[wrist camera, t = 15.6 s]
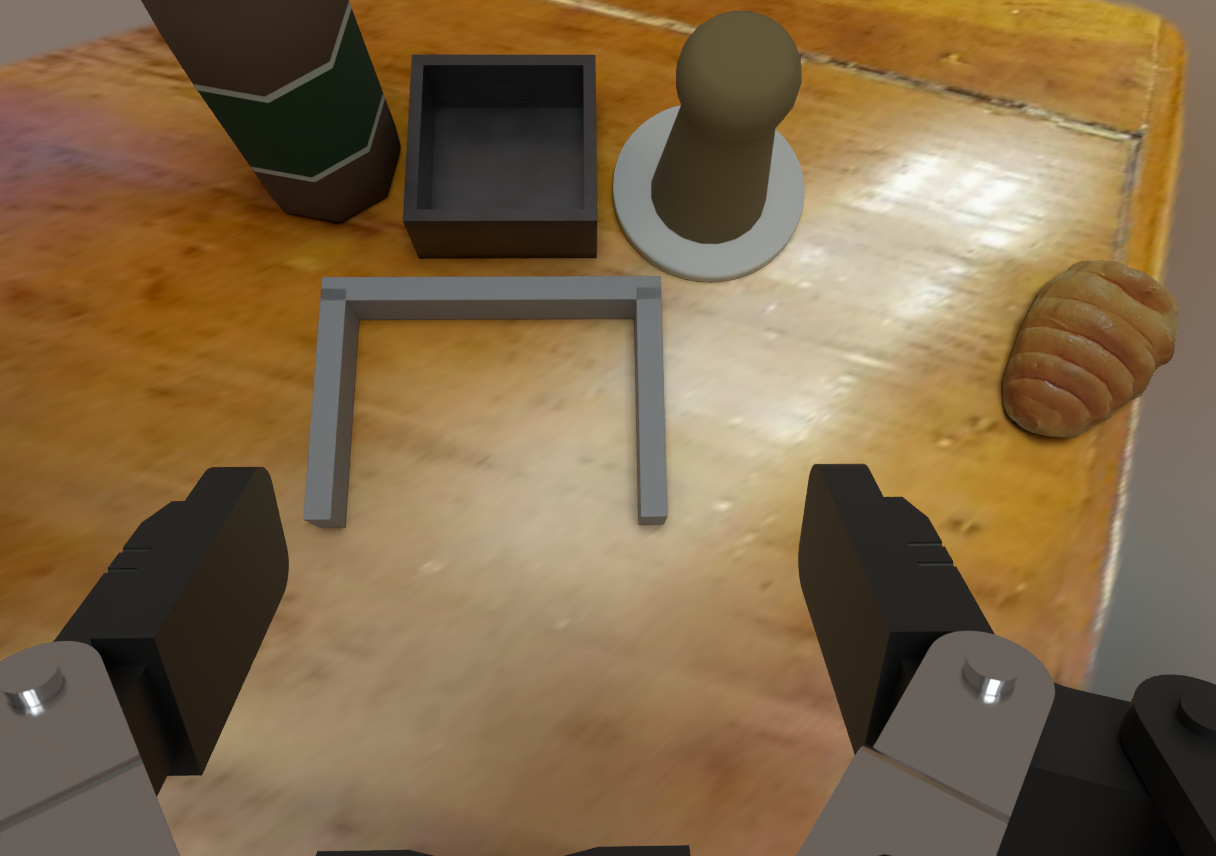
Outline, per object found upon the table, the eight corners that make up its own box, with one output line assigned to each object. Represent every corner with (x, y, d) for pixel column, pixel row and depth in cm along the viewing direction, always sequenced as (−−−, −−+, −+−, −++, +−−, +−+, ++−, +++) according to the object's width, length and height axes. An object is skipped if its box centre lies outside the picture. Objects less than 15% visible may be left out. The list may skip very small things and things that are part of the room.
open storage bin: (419, 258, 45) (403, 220, 41) (426, 103, 48) (412, 54, 44) (596, 257, 45) (596, 220, 42) (595, 103, 48) (595, 54, 44)
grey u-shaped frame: (320, 527, 42) (303, 519, 39) (336, 297, 45) (322, 277, 42) (663, 524, 42) (667, 516, 39) (656, 296, 45) (660, 276, 42)
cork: (682, 122, 46) (711, -38, 36) (785, 171, 46) (845, 23, 35) (630, 212, 45) (643, 74, 34) (735, 263, 44) (782, 139, 34)
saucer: (614, 282, 45) (614, 274, 44) (611, 113, 48) (611, 102, 47) (806, 281, 45) (811, 273, 44) (793, 113, 48) (798, 102, 47)
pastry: (1075, 475, 43) (1119, 457, 39) (960, 393, 44) (993, 368, 40) (1168, 337, 45) (1219, 309, 41) (1057, 262, 46) (1096, 227, 42)
